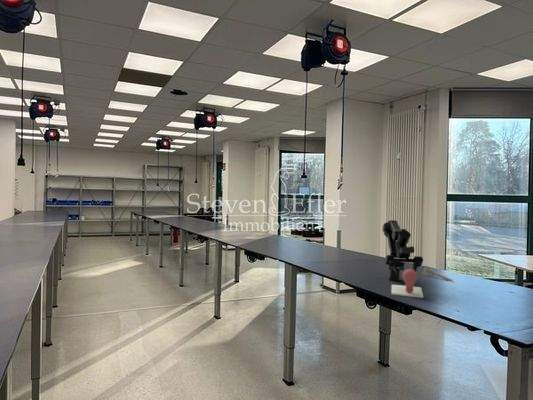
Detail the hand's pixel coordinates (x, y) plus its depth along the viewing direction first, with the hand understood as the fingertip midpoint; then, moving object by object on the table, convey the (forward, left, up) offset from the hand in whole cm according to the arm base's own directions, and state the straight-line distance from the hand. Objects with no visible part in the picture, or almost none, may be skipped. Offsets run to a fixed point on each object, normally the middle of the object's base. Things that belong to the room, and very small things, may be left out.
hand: (406, 274), depth 205 cm
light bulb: (+7, +2, -8) cm, 11 cm away
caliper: (-40, +20, -9) cm, 46 cm away
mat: (+2, +1, -9) cm, 9 cm away
